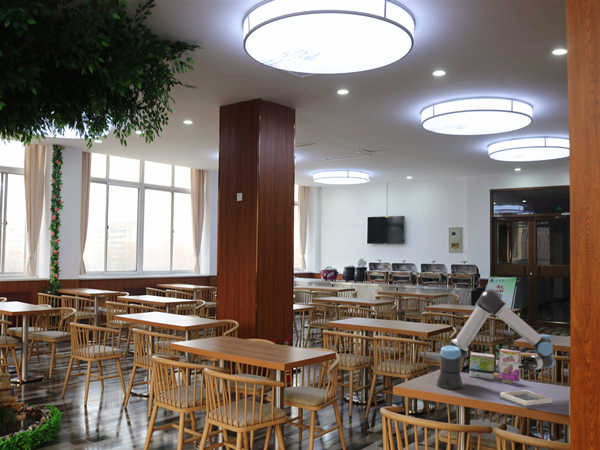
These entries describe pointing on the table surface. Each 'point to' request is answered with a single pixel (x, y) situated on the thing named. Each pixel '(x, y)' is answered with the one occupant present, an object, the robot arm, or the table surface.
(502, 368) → the candy bar box
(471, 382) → the table surface
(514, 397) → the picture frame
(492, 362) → the tea box
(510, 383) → the flower pot
